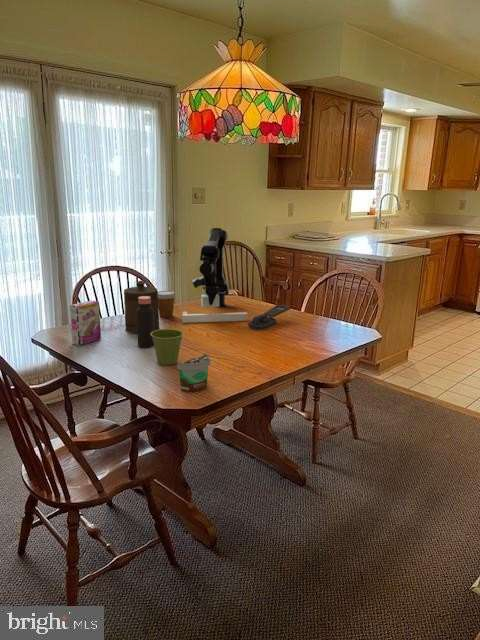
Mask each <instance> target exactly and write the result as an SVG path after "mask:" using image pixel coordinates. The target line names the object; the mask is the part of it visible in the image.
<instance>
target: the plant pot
mask: <svg viewBox="0 0 480 640" xmlns="http://www.w3.org/2000/svg"><path fill="white" fill-rule="evenodd" d="M184 334H185V333H184V331H182V330H179V329H174V328H162V329H160V328H159V330H156V331H153V332H151V334H150V335H151V336H152V338H153V342H154V346H153V347H154V351H155V356H156V361H157V364H159V365H160V366H171V365H176V364H178V362H179V361H178V360H179V355H180V354H179V353H180V347H181V341H182V338H183V335H184Z"/></svg>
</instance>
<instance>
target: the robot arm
mask: <svg viewBox="0 0 480 640" xmlns="http://www.w3.org/2000/svg"><path fill="white" fill-rule="evenodd" d="M227 240H228V232H227V231H226V230H223V229H222V228H221V227H212V228H211V229H210V231H209V237H208V240H207V242H204V244H203V245H202V247H201V249H200V255H199V256H200V257H199V261H202V264H201V265H200V266H199V272H200V274H201V275H202V276H199V277H197V278H195V279H192V280H191V282H192V284H193V287H194V289H196V288H198V287H201V286H202V289H203V290H204V294H207V295H208V299H209V304H210V305H212V304H213V302H214V299H215V297H216V295H217V294H218V295H219V307H227V304H226V296H228V295H229V286H228V283H227V280H226V278H225V276H224V247H225V246H226V244H227Z"/></svg>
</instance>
